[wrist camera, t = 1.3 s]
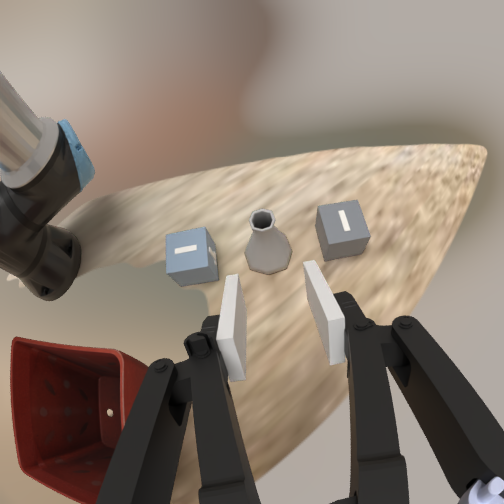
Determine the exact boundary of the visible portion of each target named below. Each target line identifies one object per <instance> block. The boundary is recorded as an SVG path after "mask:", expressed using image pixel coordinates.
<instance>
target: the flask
mask: <svg viewBox="0 0 504 504" xmlns="http://www.w3.org/2000/svg"><path fill="white" fill-rule="evenodd" d="M249 222H250V225H251V228H252V230H253V233H252V235H251V237H250V240H249V242H248V245H247V248H246V250H245V256H246V259H247V262H248V265H249V268H250V270H253V271H257V272H260V273H264V274H267V275H269V274H272V273H275V272H278V271H281V270H284V269H287V266H288V263H289V260H290V257H291V254H292V249H291V247H290V244H289V242H288V239H287V237H286V235H285V234H284V233H282V232H281V231H279V230H278V229H277V228H276V227H275V226H274V223H275V217H274V215H273V212H272V211H271V210H267V209H259V210H256V211H253V212H252V214H251V216H250V219H249Z"/></svg>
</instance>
